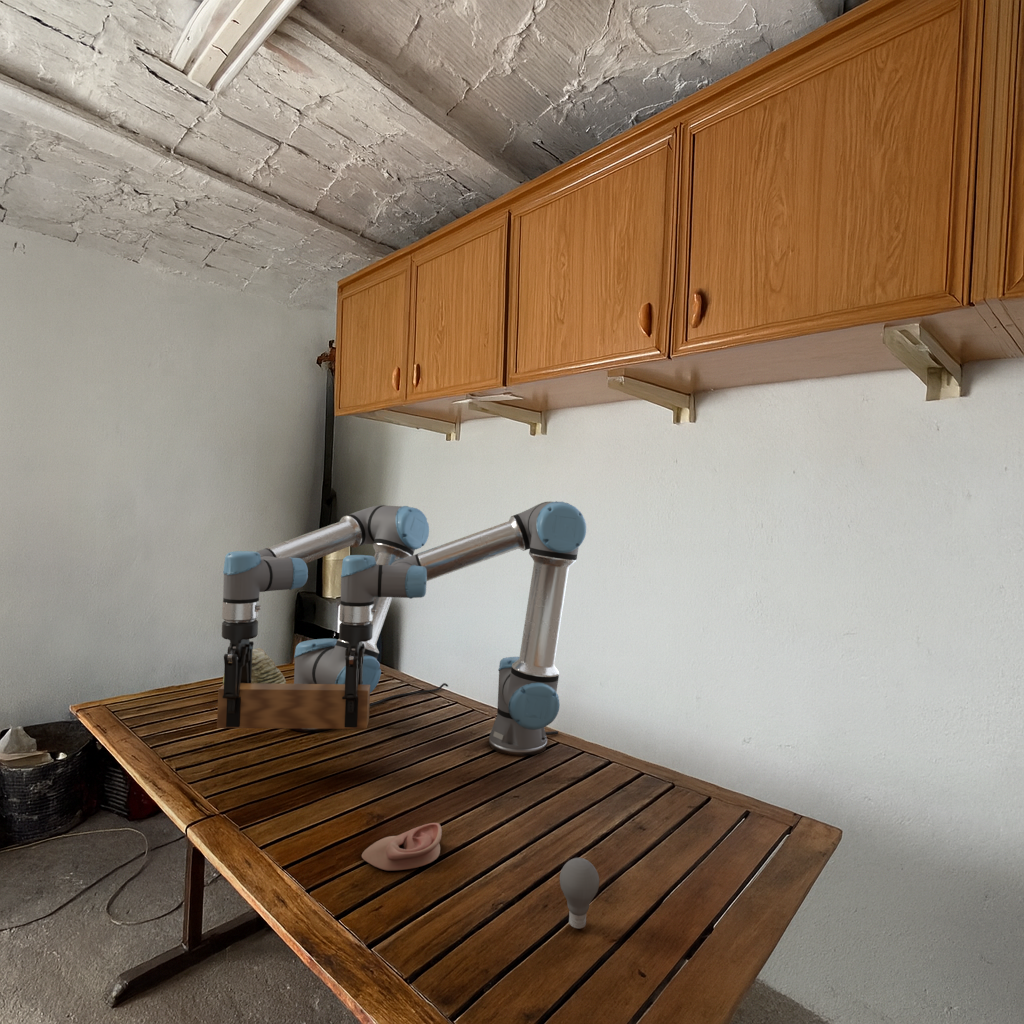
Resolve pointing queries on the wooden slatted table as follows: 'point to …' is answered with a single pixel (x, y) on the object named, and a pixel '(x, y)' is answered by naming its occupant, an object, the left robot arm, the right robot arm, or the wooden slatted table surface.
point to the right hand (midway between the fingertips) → (352, 722)
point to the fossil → (264, 669)
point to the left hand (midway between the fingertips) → (236, 721)
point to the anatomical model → (406, 849)
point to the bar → (294, 706)
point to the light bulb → (579, 888)
